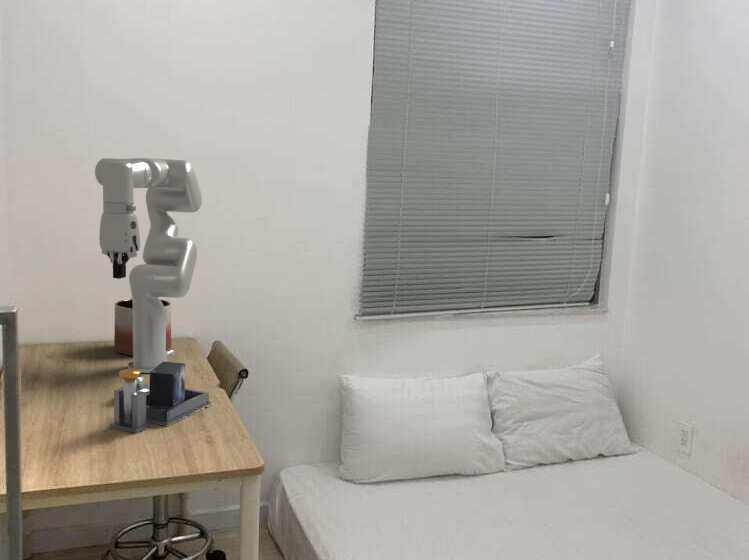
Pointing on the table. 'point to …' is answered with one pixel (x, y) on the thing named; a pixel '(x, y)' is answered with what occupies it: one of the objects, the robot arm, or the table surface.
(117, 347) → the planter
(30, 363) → the table surface
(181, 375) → the small box
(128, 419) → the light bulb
